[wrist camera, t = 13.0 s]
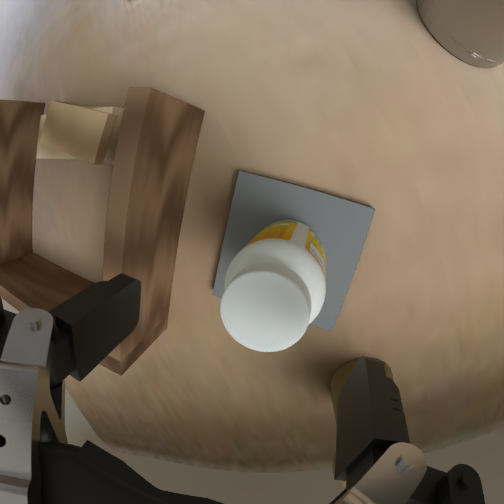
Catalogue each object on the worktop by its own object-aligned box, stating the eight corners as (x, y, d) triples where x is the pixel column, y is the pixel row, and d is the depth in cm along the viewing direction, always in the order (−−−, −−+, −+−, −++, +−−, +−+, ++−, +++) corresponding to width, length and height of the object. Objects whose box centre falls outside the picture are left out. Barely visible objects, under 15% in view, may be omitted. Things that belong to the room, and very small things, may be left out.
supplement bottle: (337, 240, 21) (351, 292, 12) (303, 301, 22) (290, 381, 13) (270, 205, 21) (233, 232, 12) (240, 269, 23) (190, 331, 14)
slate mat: (241, 170, 22) (239, 170, 21) (372, 208, 20) (375, 209, 19) (215, 291, 25) (212, 294, 24) (331, 326, 23) (331, 331, 23)
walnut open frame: (38, 103, 24) (-16, 100, 17) (204, 111, 21) (151, 87, 13) (26, 259, 30) (-20, 279, 23) (166, 327, 27) (121, 375, 19)
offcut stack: (62, 105, 23) (33, 101, 19) (150, 108, 22) (121, 99, 18) (53, 156, 25) (24, 158, 21) (137, 172, 24) (106, 175, 20)
